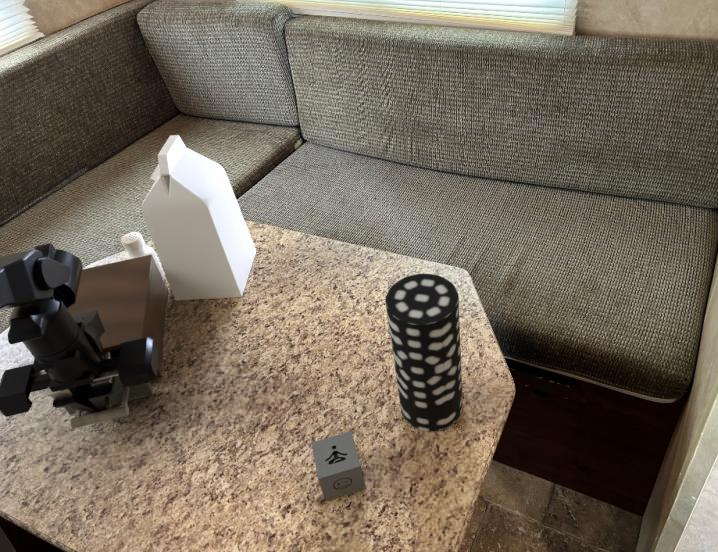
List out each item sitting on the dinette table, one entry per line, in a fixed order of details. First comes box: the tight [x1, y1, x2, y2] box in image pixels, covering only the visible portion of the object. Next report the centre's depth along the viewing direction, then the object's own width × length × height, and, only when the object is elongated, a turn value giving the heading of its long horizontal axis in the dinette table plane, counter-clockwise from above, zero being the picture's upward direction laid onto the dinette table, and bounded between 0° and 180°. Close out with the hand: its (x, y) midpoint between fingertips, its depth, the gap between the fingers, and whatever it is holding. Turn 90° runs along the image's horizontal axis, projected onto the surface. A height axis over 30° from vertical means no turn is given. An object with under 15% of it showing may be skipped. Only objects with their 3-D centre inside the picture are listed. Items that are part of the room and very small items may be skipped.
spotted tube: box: [385, 273, 464, 432], centre depth 75 cm, size 8×8×20 cm
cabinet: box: [67, 255, 169, 378], centre depth 94 cm, size 20×13×8 cm, turn 14°
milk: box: [141, 134, 257, 301], centre depth 98 cm, size 12×12×26 cm
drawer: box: [64, 349, 154, 429], centre depth 88 cm, size 23×11×6 cm, turn 14°
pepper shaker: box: [120, 231, 166, 279], centre depth 104 cm, size 4×4×10 cm
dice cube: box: [310, 430, 367, 502], centre depth 73 cm, size 5×5×5 cm
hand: (106, 412), depth 83 cm, fingers closed, pressing on drawer
